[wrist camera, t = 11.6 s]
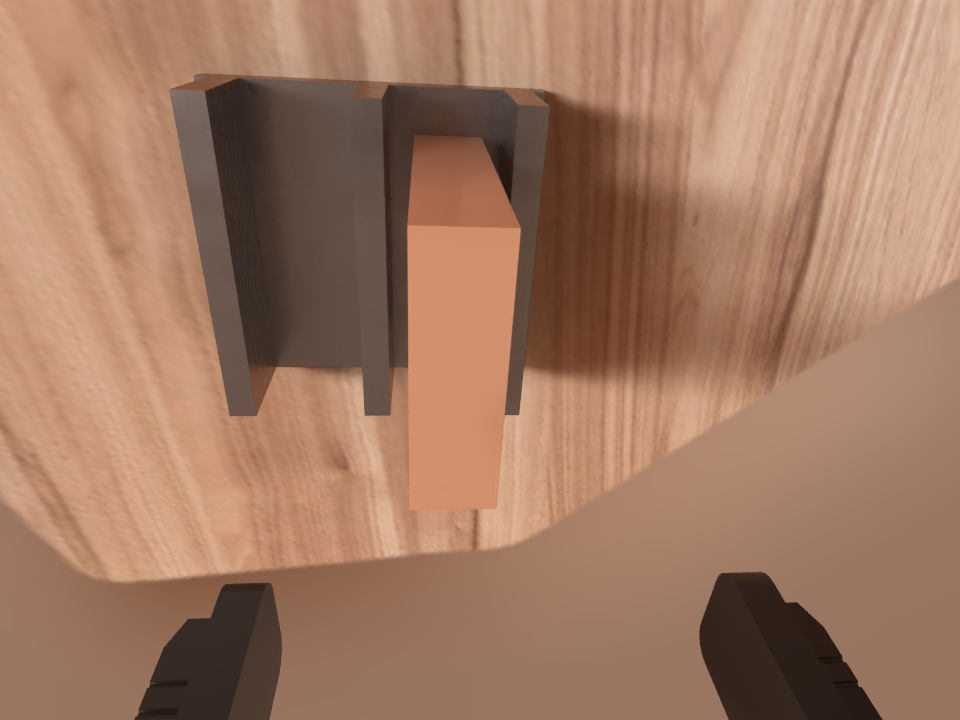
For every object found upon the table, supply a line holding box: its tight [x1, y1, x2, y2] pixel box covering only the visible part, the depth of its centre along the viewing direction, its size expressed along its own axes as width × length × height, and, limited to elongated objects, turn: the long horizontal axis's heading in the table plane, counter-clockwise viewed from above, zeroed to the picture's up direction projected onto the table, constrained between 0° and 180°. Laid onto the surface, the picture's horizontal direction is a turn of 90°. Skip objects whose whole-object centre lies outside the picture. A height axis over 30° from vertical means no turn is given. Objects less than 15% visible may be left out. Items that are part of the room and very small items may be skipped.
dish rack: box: [170, 74, 550, 416], centre depth 28 cm, size 14×15×6 cm
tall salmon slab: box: [407, 135, 521, 510], centre depth 24 cm, size 10×3×13 cm, turn 177°
